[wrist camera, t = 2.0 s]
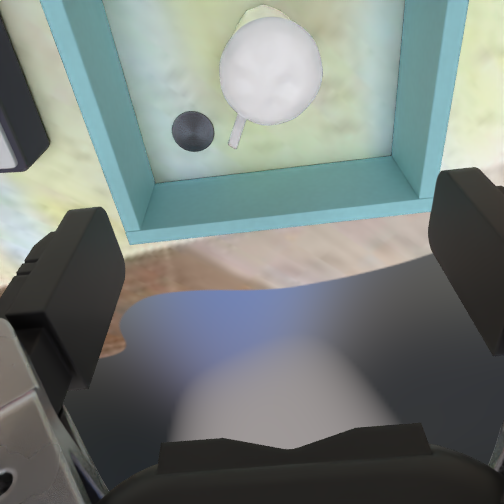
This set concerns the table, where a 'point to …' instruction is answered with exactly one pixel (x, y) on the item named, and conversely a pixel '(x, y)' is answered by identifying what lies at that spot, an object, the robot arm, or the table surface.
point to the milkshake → (269, 69)
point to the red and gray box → (17, 114)
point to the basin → (271, 181)
